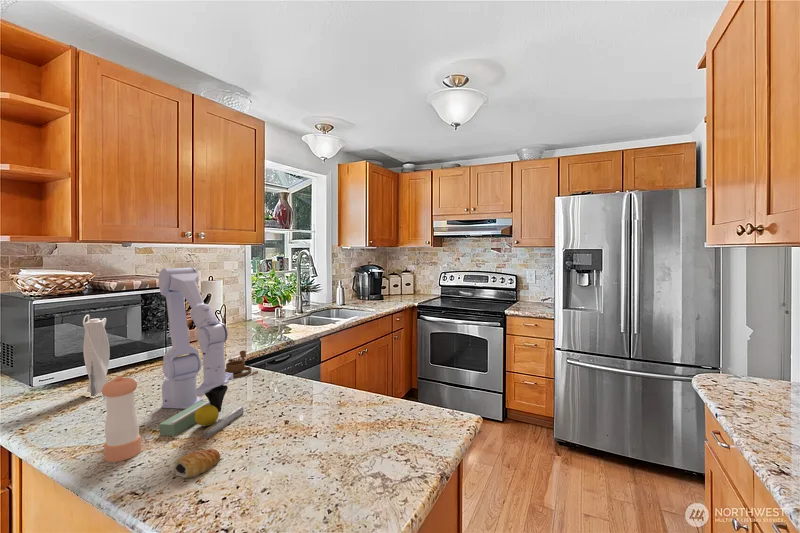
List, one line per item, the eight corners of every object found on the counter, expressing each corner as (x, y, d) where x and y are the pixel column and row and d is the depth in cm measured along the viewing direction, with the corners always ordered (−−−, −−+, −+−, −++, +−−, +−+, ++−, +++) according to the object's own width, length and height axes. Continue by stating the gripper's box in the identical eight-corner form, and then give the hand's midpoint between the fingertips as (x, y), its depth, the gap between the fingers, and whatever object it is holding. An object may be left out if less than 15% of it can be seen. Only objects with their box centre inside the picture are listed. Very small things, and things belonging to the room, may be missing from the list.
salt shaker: (148, 448, 97) (144, 373, 97) (119, 464, 91) (114, 382, 90) (127, 444, 100) (123, 370, 99) (97, 459, 93) (92, 380, 92)
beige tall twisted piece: (78, 396, 136) (72, 316, 135) (103, 388, 144) (98, 312, 143) (93, 398, 133) (88, 317, 132) (118, 390, 141) (113, 313, 139)
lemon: (222, 425, 112) (206, 427, 105) (203, 424, 113) (187, 426, 105) (225, 405, 114) (210, 405, 106) (207, 404, 114) (191, 404, 107)
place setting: (206, 377, 154) (205, 362, 154) (242, 363, 173) (241, 350, 173) (242, 381, 149) (242, 366, 148) (275, 366, 168) (274, 352, 167)
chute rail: (204, 438, 102) (204, 430, 102) (240, 412, 118) (240, 406, 118) (207, 438, 102) (207, 430, 102) (243, 412, 118) (243, 406, 118)
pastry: (209, 454, 94) (208, 439, 94) (227, 461, 91) (226, 445, 91) (170, 474, 86) (169, 457, 86) (189, 483, 83) (188, 465, 83)
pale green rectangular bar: (159, 434, 105) (159, 421, 105) (200, 410, 121) (200, 399, 120) (174, 435, 104) (173, 422, 104) (213, 411, 120) (213, 399, 120)
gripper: (209, 374, 106) (212, 423, 106) (241, 359, 120) (243, 402, 120) (187, 373, 107) (189, 422, 107) (220, 358, 121) (223, 401, 122)
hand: (216, 411), depth 114 cm, fingers closed, pressing on lemon
